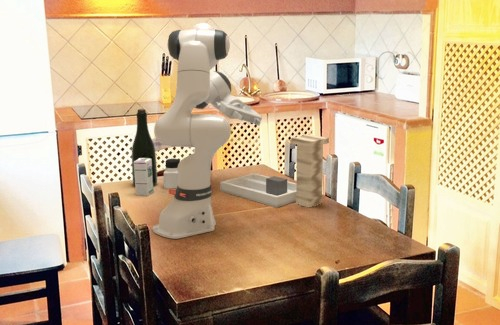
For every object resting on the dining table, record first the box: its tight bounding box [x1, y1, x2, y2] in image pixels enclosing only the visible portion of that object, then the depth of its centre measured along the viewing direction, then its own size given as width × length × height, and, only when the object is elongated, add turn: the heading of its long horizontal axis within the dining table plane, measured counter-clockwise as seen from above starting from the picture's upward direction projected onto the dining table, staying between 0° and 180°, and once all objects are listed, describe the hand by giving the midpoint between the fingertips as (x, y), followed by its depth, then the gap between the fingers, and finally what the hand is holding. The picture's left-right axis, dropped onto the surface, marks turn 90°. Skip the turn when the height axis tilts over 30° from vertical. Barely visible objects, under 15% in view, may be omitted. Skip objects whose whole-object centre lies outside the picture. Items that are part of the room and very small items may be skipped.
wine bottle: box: [131, 108, 158, 187], centre depth 260 cm, size 10×10×33 cm
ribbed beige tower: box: [290, 134, 330, 208], centre depth 232 cm, size 10×10×26 cm
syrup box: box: [134, 158, 154, 197], centre depth 249 cm, size 6×6×14 cm
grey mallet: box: [243, 175, 288, 196], centre depth 250 cm, size 5×21×6 cm, turn 47°
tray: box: [219, 172, 296, 208], centre depth 249 cm, size 20×32×4 cm, turn 44°
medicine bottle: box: [163, 158, 181, 190], centre depth 260 cm, size 7×7×12 cm
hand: (250, 121), depth 244 cm, fingers open, 8 cm apart
